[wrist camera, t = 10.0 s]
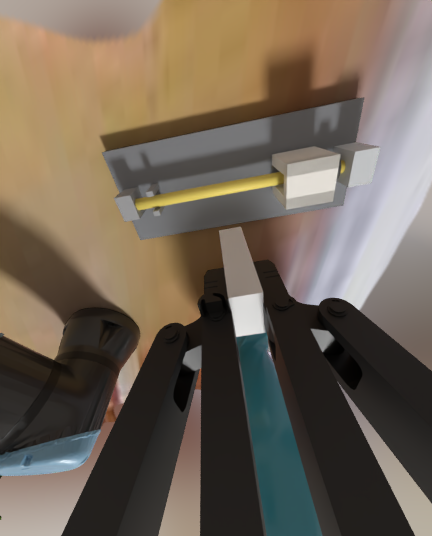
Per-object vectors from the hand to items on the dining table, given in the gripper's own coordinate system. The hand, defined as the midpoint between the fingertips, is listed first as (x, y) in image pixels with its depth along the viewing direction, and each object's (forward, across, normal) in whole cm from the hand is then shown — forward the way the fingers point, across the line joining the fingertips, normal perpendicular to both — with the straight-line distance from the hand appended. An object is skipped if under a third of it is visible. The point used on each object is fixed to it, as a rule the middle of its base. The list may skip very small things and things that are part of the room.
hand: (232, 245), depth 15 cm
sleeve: (+15, +9, 0) cm, 18 cm away
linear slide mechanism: (+17, +2, 0) cm, 17 cm away
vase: (+18, +1, -37) cm, 41 cm away
